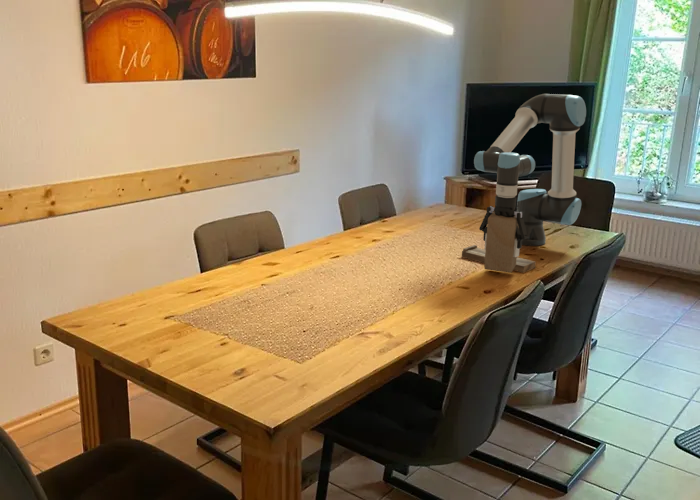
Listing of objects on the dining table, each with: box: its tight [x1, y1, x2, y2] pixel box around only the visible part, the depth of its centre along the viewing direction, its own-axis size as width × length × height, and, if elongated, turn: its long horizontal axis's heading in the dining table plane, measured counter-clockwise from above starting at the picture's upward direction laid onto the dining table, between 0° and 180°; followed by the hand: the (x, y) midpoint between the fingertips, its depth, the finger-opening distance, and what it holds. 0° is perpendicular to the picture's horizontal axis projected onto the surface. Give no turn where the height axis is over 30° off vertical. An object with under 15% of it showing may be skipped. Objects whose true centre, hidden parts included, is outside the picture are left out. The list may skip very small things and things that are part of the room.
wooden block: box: [484, 212, 519, 274], centre depth 255 cm, size 10×10×20 cm
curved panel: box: [461, 244, 537, 273], centre depth 273 cm, size 9×28×4 cm, turn 47°
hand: (501, 253), depth 257 cm, fingers closed on wooden block, 12 cm apart
